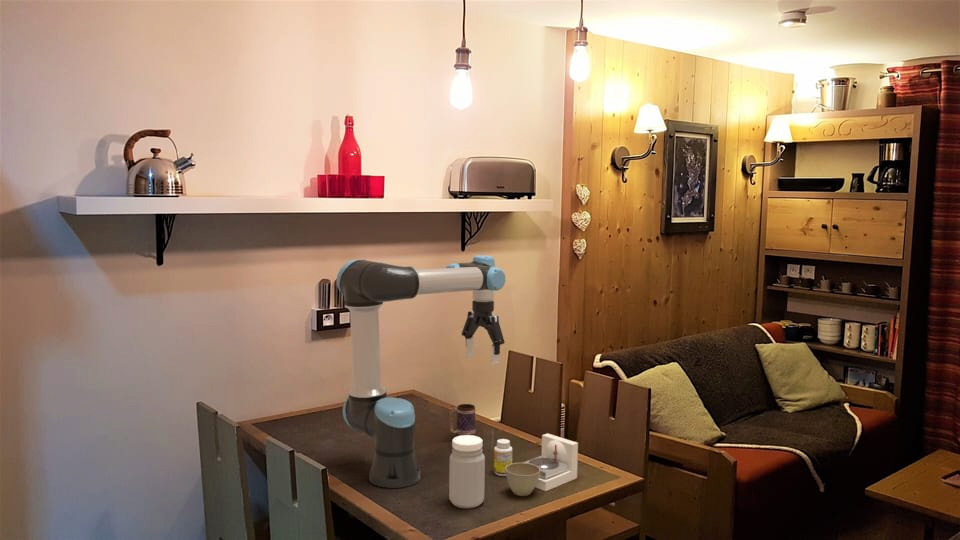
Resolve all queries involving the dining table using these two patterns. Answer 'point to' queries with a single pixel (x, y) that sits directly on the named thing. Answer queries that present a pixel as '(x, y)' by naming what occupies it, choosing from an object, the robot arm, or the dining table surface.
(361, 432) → the robot arm
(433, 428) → the dining table surface
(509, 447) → the supplement bottle
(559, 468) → the pan
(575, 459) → the scale base
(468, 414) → the mug
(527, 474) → the flower pot
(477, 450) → the jar
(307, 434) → the dining table surface
